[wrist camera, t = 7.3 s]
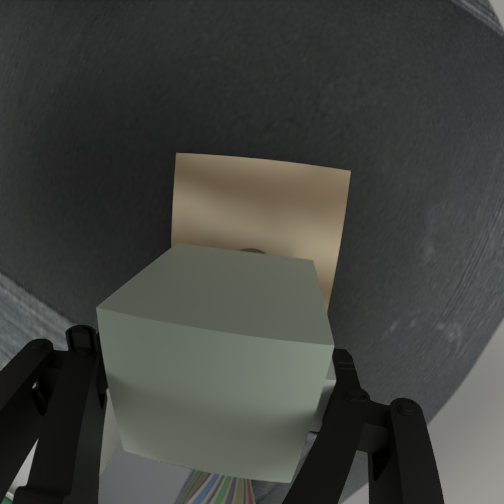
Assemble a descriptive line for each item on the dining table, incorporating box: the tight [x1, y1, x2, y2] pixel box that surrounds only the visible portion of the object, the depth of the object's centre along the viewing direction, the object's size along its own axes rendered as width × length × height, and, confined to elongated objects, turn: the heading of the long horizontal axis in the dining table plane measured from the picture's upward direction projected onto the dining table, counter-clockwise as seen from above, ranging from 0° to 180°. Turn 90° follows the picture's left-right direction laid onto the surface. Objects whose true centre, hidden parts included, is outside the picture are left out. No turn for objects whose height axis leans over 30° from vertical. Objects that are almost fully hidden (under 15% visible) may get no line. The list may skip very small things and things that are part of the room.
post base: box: [171, 153, 351, 312], centre depth 21 cm, size 16×12×6 cm
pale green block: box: [96, 243, 335, 483], centre depth 13 cm, size 7×7×8 cm
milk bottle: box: [1, 388, 121, 504], centre depth 19 cm, size 8×8×20 cm
